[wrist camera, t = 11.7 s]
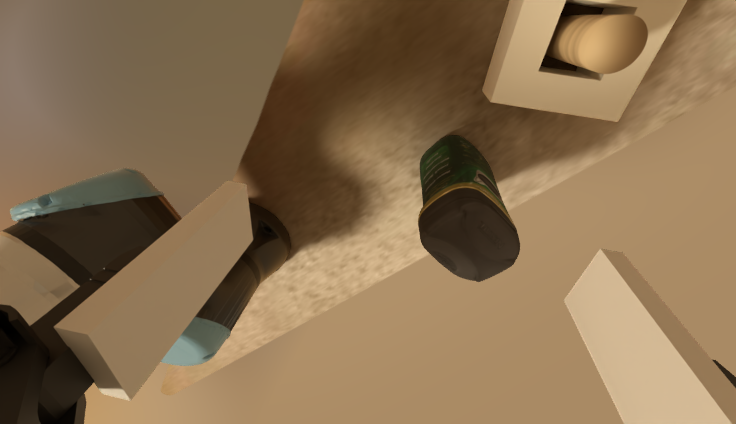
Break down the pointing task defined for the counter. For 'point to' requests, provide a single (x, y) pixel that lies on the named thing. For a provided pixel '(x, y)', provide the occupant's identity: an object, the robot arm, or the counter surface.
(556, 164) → the counter surface
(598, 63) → the dowel
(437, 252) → the coffee jar
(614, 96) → the socket block
